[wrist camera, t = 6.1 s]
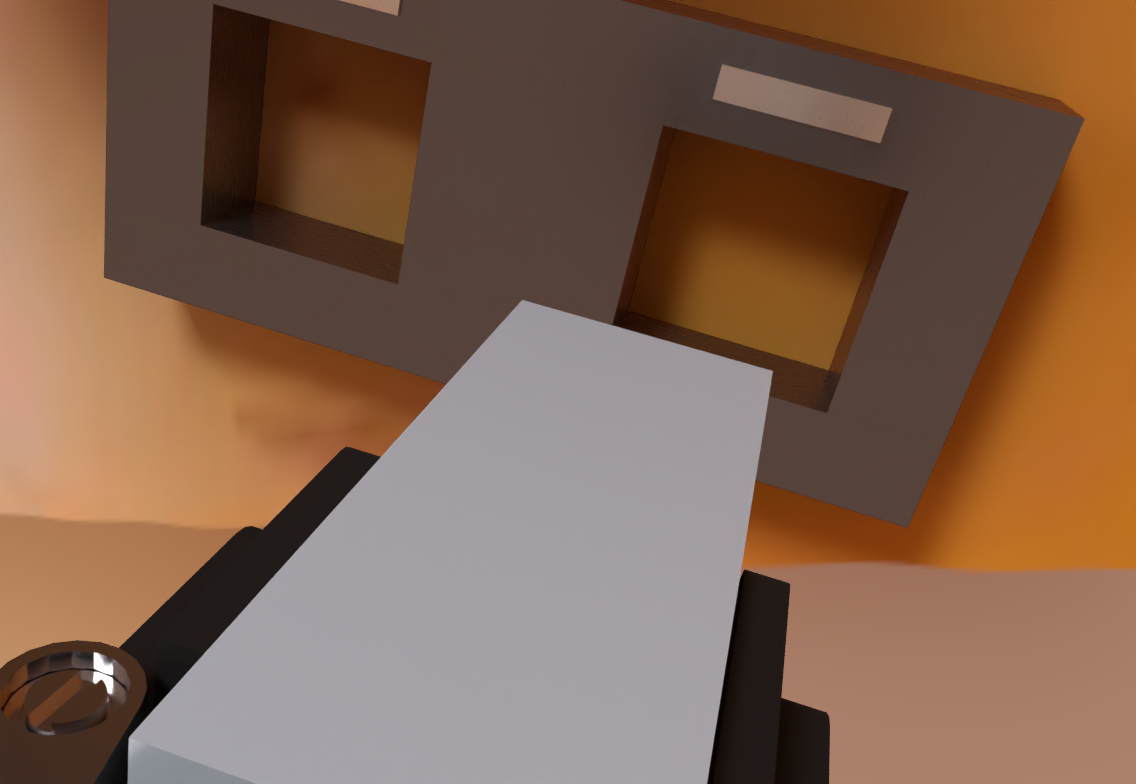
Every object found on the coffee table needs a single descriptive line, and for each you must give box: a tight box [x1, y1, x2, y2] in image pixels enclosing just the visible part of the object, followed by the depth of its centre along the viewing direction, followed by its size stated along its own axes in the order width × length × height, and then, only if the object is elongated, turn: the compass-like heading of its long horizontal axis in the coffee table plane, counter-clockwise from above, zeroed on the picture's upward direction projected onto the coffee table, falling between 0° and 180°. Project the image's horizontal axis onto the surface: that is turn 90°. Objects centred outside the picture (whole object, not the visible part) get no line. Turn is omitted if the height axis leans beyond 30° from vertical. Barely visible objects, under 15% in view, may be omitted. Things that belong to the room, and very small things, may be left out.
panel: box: [104, 0, 1084, 528], centre depth 28 cm, size 24×11×3 cm, turn 77°
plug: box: [128, 300, 773, 784], centre depth 12 cm, size 4×5×10 cm
